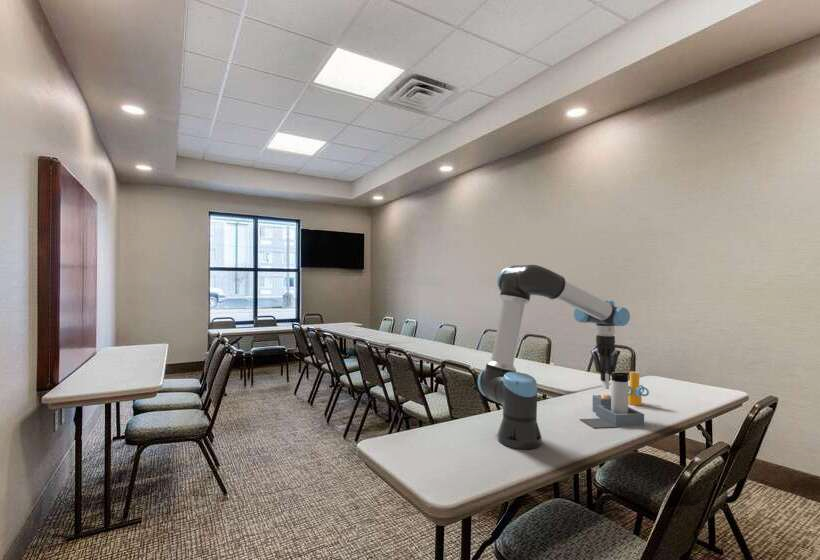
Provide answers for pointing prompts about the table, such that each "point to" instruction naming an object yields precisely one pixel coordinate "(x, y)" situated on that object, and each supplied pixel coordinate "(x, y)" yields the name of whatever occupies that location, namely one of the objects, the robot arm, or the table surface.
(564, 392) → the table surface
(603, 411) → the grey compartment tray
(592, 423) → the rubber mat
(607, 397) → the orange rounded peg
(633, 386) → the cylinder
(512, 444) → the robot arm
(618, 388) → the travel mug
